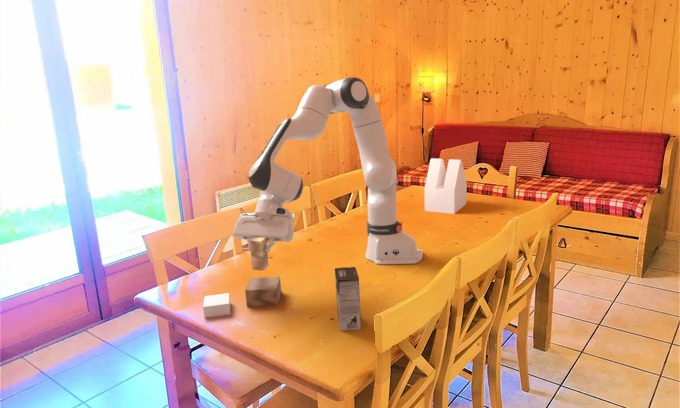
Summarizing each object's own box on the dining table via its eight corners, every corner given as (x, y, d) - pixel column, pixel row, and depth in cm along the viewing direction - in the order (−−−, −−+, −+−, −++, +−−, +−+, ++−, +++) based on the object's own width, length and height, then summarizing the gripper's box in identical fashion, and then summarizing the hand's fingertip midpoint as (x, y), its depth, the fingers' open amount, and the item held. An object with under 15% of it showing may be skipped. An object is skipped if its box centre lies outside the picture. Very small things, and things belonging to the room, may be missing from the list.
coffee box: (337, 316, 160) (334, 267, 155) (358, 314, 160) (355, 265, 156) (339, 331, 151) (336, 280, 147) (361, 329, 151) (359, 278, 147)
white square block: (230, 304, 173) (229, 292, 172) (230, 314, 165) (229, 303, 164) (205, 307, 171) (204, 296, 170) (204, 318, 164) (203, 306, 163)
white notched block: (454, 214, 255) (454, 163, 249) (424, 211, 263) (424, 162, 256) (466, 204, 271) (466, 156, 264) (438, 201, 279) (437, 155, 272)
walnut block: (281, 292, 179) (279, 276, 177) (277, 306, 169) (276, 289, 168) (252, 293, 179) (250, 277, 178) (247, 307, 170) (245, 290, 168)
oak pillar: (268, 265, 173) (266, 237, 170) (263, 270, 169) (261, 241, 166) (257, 264, 174) (254, 236, 171) (252, 269, 170) (249, 240, 167)
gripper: (236, 208, 176) (225, 245, 169) (293, 210, 170) (284, 249, 164) (243, 217, 181) (233, 253, 175) (298, 219, 176) (290, 257, 169)
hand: (258, 251), depth 169 cm, fingers closed on oak pillar, 4 cm apart
